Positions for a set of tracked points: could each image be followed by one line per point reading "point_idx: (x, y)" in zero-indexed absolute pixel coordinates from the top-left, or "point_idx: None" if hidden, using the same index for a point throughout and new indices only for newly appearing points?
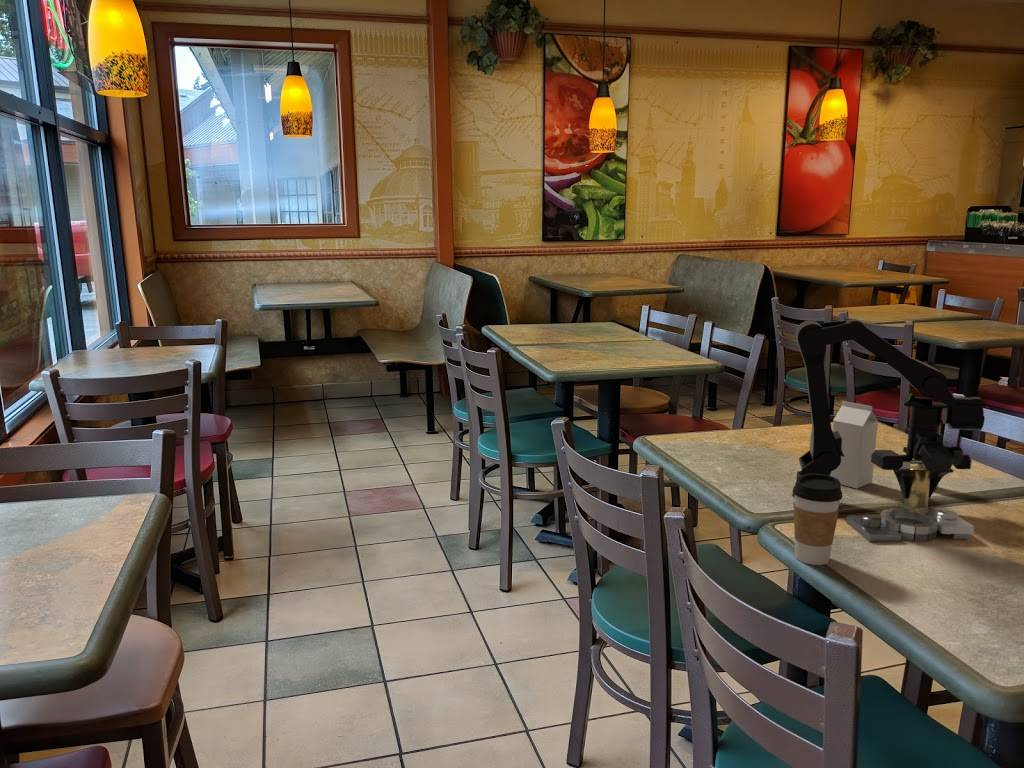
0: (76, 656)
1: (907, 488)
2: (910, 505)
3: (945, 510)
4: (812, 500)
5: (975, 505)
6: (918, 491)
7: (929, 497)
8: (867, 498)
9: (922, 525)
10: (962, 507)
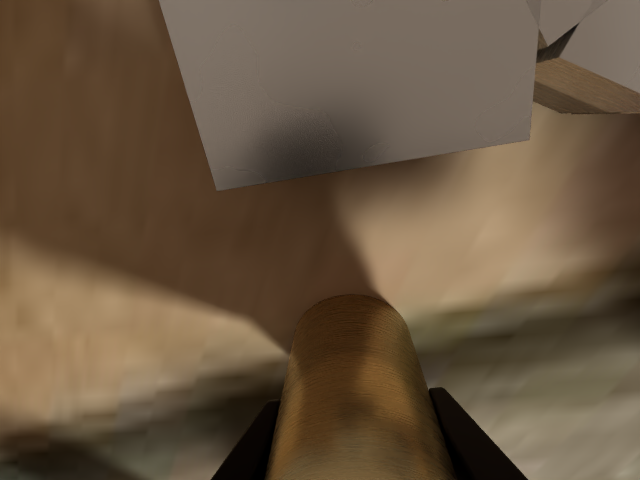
0: None
1: (491, 471)
2: (405, 339)
3: None
4: None
5: (50, 406)
6: (391, 425)
7: (270, 405)
8: (531, 455)
9: None
10: (108, 383)
